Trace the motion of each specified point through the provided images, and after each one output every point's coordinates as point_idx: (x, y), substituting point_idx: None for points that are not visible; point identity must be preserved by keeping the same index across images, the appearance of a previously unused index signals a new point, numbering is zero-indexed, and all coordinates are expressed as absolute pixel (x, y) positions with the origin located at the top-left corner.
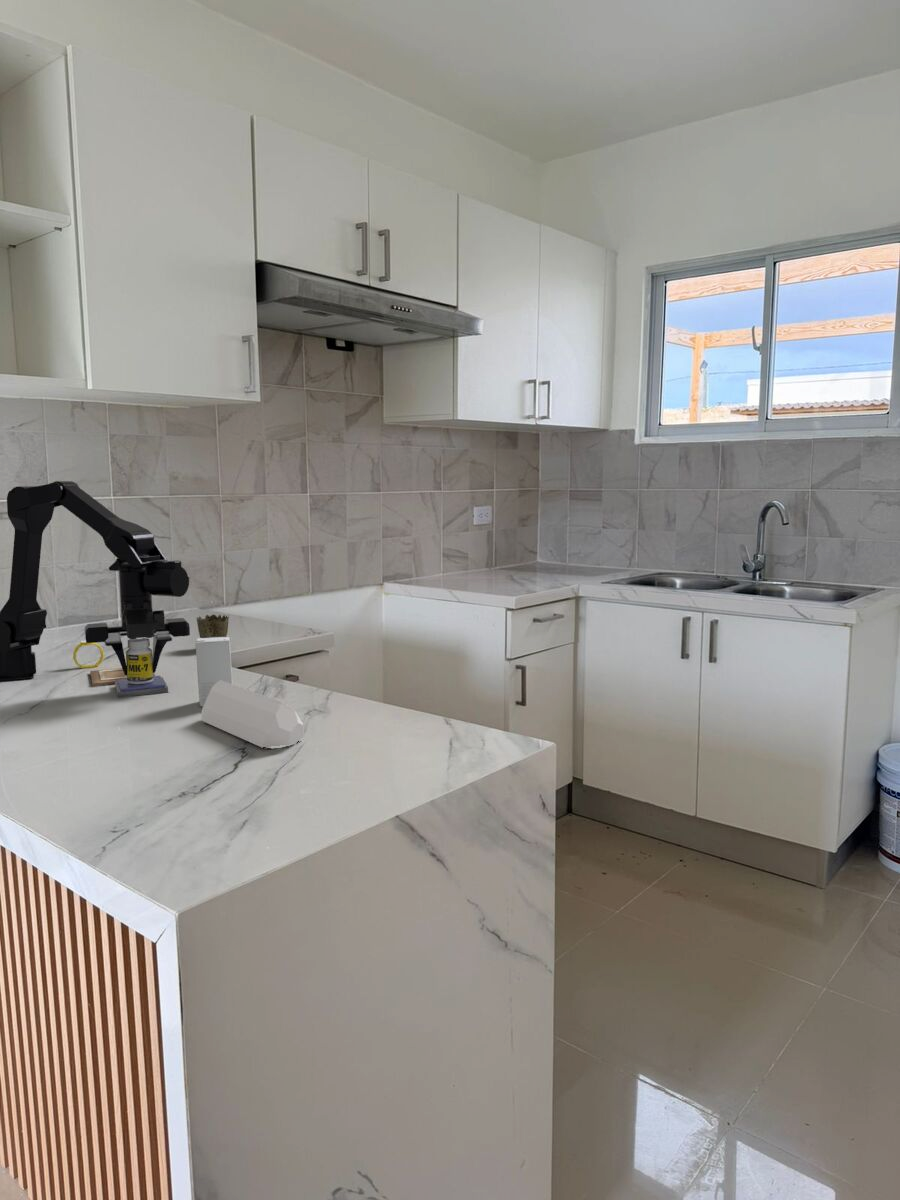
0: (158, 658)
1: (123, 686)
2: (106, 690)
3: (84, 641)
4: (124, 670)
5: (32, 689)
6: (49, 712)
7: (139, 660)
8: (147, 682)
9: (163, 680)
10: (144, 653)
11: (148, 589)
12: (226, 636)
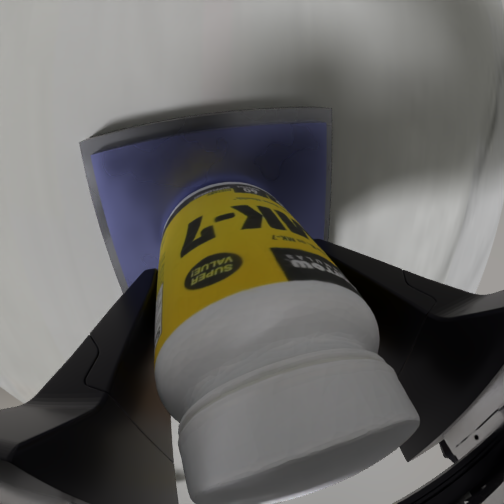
0: (102, 324)
1: (310, 164)
2: (347, 243)
3: None
4: (333, 246)
5: (459, 288)
6: (475, 43)
7: (261, 249)
8: (186, 197)
9: (123, 286)
10: (219, 308)
11: None
12: None
